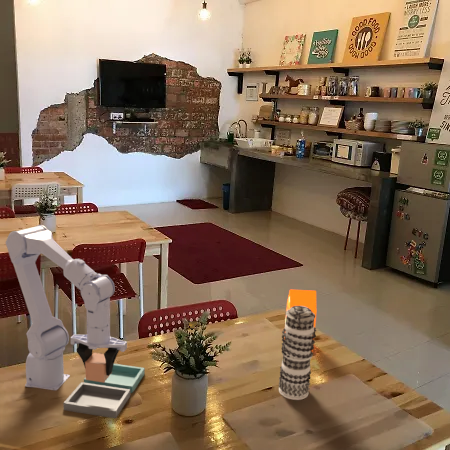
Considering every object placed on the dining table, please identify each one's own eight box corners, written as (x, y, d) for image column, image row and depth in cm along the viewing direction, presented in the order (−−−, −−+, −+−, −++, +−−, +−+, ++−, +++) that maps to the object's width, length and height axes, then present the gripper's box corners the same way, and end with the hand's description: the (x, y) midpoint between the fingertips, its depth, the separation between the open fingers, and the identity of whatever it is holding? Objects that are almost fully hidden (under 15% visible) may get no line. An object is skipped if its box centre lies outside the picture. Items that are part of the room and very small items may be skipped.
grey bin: (63, 411, 128) (63, 402, 127) (81, 390, 138) (81, 382, 137) (115, 420, 126) (115, 411, 125) (130, 397, 135) (130, 389, 135)
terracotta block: (85, 379, 129) (85, 362, 127) (94, 369, 133) (93, 352, 132) (104, 382, 128) (103, 364, 127) (111, 372, 133) (111, 355, 131)
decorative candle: (317, 395, 140) (325, 312, 134) (290, 404, 136) (297, 318, 130) (297, 379, 148) (304, 300, 142) (271, 387, 144) (277, 305, 138)
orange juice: (312, 352, 165) (318, 295, 160) (285, 350, 165) (290, 293, 160) (309, 341, 173) (314, 286, 168) (283, 339, 173) (288, 285, 168)
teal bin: (84, 387, 139) (83, 379, 138) (99, 369, 149) (99, 361, 148) (132, 394, 137) (132, 386, 136) (144, 375, 146) (144, 367, 146)
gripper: (64, 326, 125) (65, 375, 128) (119, 334, 122) (119, 384, 125) (77, 315, 131) (78, 362, 135) (130, 322, 129) (129, 369, 132)
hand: (99, 371), depth 130 cm, fingers closed on terracotta block, 5 cm apart
